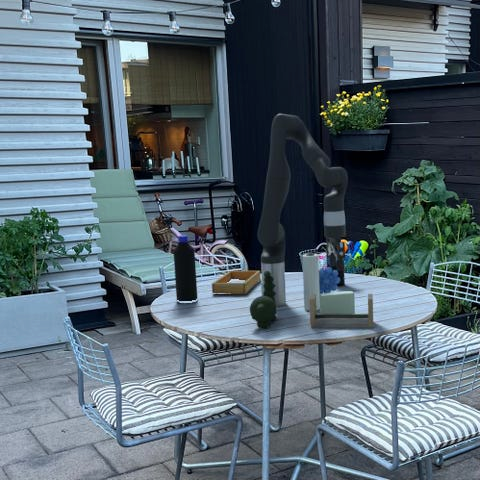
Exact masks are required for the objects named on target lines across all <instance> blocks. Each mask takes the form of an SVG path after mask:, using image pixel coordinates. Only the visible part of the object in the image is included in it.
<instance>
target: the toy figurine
mask: <svg viewBox="0 0 480 480" xmlns="http://www.w3.org/2000/svg"><path fill="white" fill-rule="evenodd" d="M264 276H265V278H264V282H265V283H264V285H263V287H264V289H265V290H264V292H263V296H262V295H260V296H257V297H256V298H254V299H253V300H252V301H251V304H250V305H249V312H250V316H251V319H252V320H253V321H256V325H257V327H258V328H259V329H268V328H269V327H270V323H273V324H274V323H275V322H276V321H277V320H278V319H277V318H278V316H277V314H278V306H276V304H275V303H276V302H275V298H274V295H276V292H274V290H273V289H274V287H275V284H273V280H274V278H273V277H272V276H271V273H270V272H269V271H265V272H264Z"/></svg>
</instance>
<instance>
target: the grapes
mask: <svg viewBox="0 0 480 480" xmlns="http://www.w3.org/2000/svg"><path fill="white" fill-rule="evenodd" d="M337 275H338V271H337V270H333V271H332V268H331V267H327V266H326V268H325V270H324V268H319V291H320V294H322V293H332V292H335V291H336V290H337V289H338V287H337V285H336V284H338V283H339V282H340V278H339V277H336V276H337Z"/></svg>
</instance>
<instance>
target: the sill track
mask: <svg viewBox="0 0 480 480" xmlns="http://www.w3.org/2000/svg"><path fill="white" fill-rule="evenodd" d="M367 307H368V309H367V313H355V314H320V313H318V312H317V311H318V310H317V308H316V294H311V297H310V311H309V319H310V320H309V321H310V328H311V329H374V297H373V293H367Z"/></svg>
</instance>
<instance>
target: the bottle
mask: <svg viewBox="0 0 480 480" xmlns="http://www.w3.org/2000/svg"><path fill="white" fill-rule="evenodd" d="M177 241H178V243H177V245H176V246H175V248H174V249H173V262H174V263H173V264H174V278H175V279H174V281H175V293H176V294H175V295H176V301H177V300H179V301H192V300H196V299H197V298H198V287H197V285H198V284H197V270H196V255H195V254H196V252H195V248H194V247H193V246H192V244H190V242H189V237H188V235H184V234H183V235H178V236H177Z"/></svg>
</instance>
